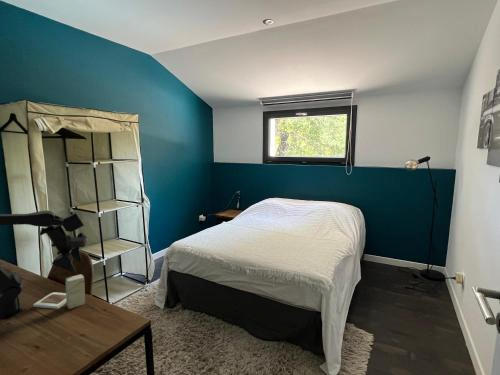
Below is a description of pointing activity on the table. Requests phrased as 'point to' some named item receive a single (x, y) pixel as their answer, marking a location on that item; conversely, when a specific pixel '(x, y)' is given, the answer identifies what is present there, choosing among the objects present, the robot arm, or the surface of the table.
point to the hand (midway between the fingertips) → (77, 266)
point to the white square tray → (52, 301)
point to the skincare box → (75, 291)
